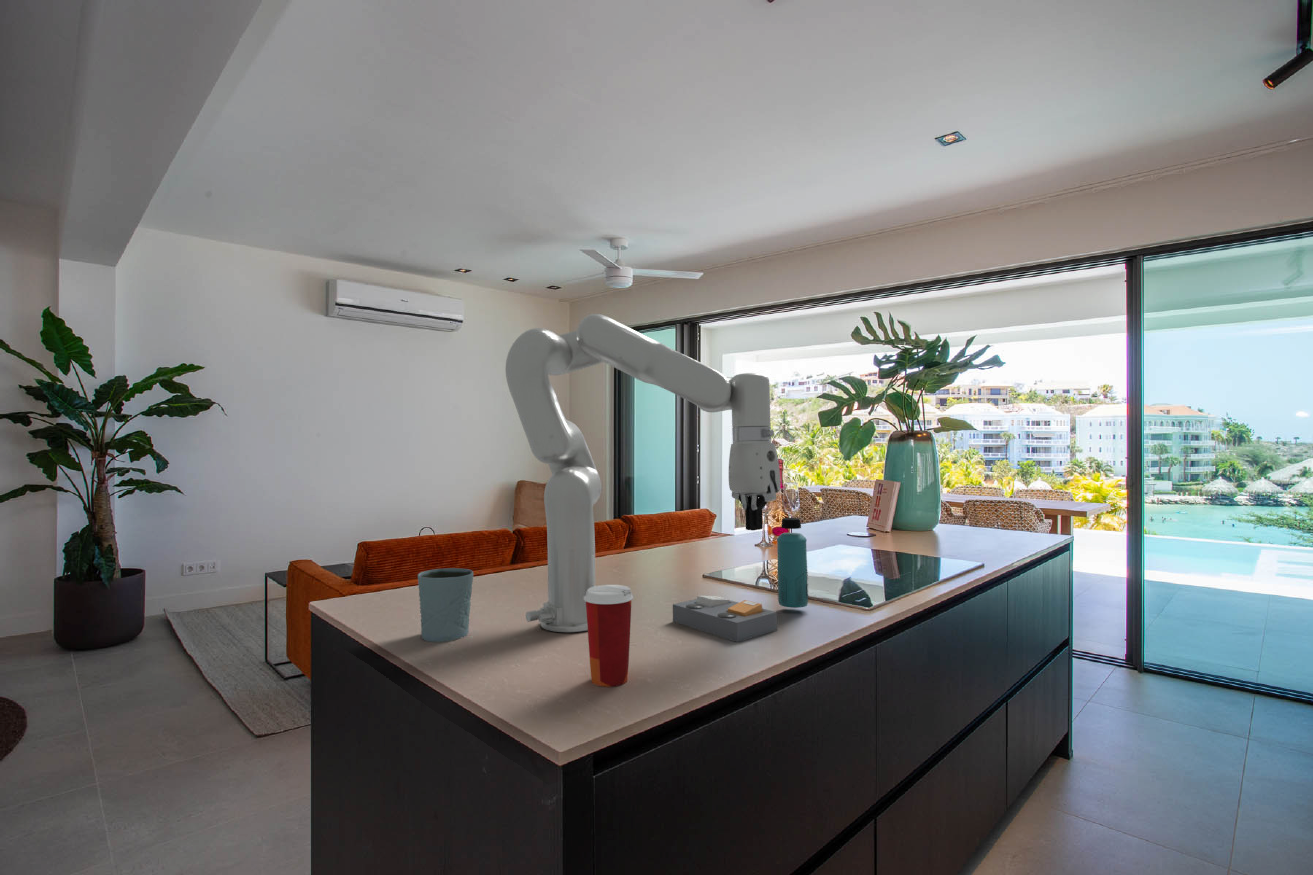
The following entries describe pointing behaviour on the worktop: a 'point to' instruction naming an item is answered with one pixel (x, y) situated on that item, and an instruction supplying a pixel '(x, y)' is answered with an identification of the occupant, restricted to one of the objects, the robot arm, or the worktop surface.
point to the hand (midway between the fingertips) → (754, 529)
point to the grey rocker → (711, 601)
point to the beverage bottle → (792, 566)
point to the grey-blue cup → (445, 603)
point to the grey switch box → (724, 620)
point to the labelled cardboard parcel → (746, 608)
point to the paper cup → (609, 633)
